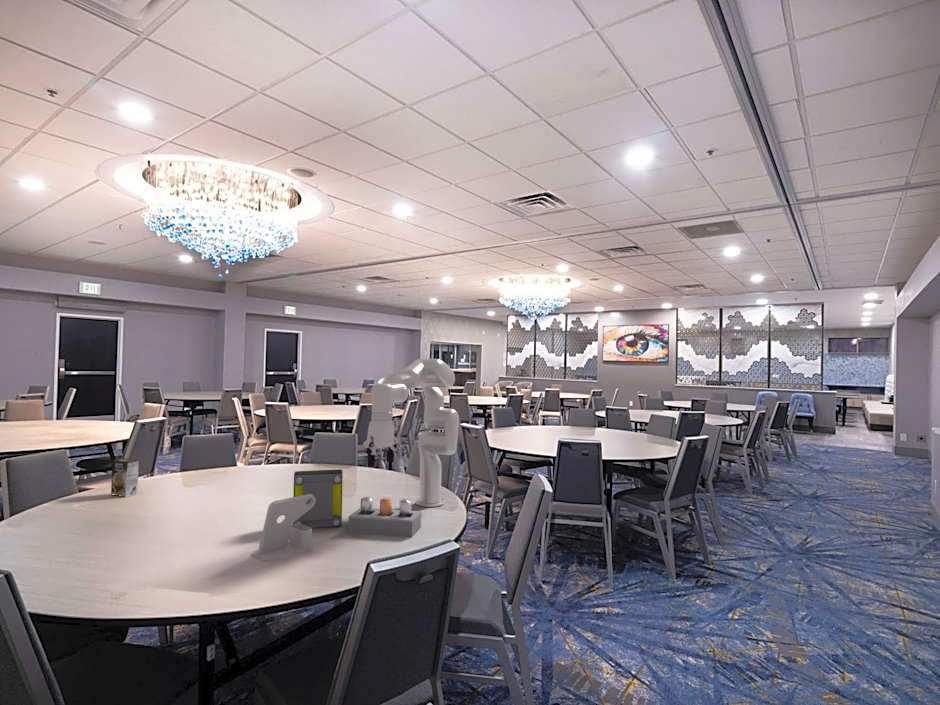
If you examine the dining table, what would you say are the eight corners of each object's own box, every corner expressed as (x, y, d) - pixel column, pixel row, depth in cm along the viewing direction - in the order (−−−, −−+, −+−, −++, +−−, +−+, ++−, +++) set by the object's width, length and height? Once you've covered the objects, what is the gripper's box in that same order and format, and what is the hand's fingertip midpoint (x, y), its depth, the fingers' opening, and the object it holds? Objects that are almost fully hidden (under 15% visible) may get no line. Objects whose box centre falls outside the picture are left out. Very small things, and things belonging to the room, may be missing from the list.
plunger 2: (401, 512, 196) (401, 498, 196) (412, 513, 195) (412, 499, 195) (397, 516, 191) (397, 501, 191) (409, 517, 190) (409, 502, 191)
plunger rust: (382, 511, 197) (382, 497, 197) (393, 512, 196) (393, 498, 196) (378, 514, 193) (378, 500, 193) (389, 515, 192) (389, 501, 192)
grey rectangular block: (360, 523, 202) (361, 507, 202) (420, 527, 198) (421, 511, 198) (348, 532, 190) (348, 516, 190) (412, 537, 186) (412, 520, 186)
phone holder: (298, 541, 181) (300, 488, 181) (315, 547, 174) (317, 493, 175) (250, 554, 167) (252, 497, 168) (267, 562, 161) (268, 503, 161)
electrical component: (292, 531, 192) (293, 476, 192) (293, 522, 201) (295, 470, 202) (341, 527, 196) (342, 474, 197) (340, 519, 206) (341, 468, 207)
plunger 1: (363, 510, 198) (363, 496, 198) (374, 511, 197) (374, 497, 198) (358, 513, 194) (358, 499, 194) (369, 514, 193) (370, 499, 193)
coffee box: (110, 495, 238) (111, 460, 238) (123, 492, 244) (124, 457, 244) (125, 497, 235) (126, 461, 236) (138, 494, 241) (139, 459, 242)
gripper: (391, 415, 202) (389, 459, 202) (357, 417, 188) (355, 465, 188) (405, 416, 198) (404, 462, 197) (372, 419, 184) (370, 468, 183)
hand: (380, 463), depth 192 cm, fingers open, 9 cm apart
